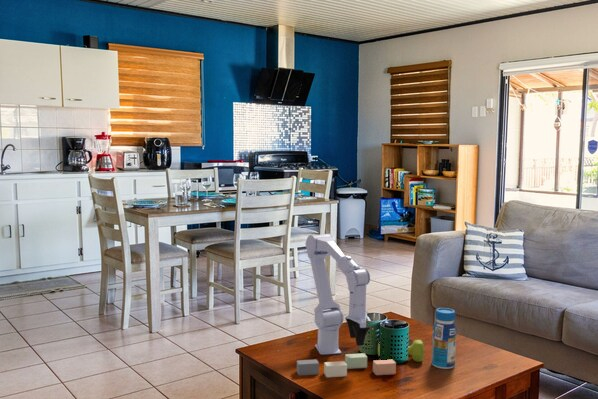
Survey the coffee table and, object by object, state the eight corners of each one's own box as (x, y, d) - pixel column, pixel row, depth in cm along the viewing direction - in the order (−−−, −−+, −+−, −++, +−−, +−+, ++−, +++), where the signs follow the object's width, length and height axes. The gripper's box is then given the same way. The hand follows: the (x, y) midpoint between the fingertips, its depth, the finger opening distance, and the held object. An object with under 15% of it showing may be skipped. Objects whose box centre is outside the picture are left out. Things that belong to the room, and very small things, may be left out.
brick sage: (344, 365, 209) (345, 354, 208) (364, 364, 210) (364, 353, 210) (347, 369, 205) (347, 358, 205) (366, 367, 207) (367, 356, 206)
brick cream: (324, 373, 201) (324, 362, 201) (344, 372, 203) (344, 361, 202) (326, 377, 198) (326, 366, 197) (346, 376, 199) (347, 365, 199)
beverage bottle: (428, 360, 214) (430, 306, 212) (450, 360, 214) (453, 306, 212) (435, 369, 205) (437, 314, 203) (458, 369, 206) (461, 313, 204)
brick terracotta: (372, 371, 204) (373, 360, 203) (392, 370, 205) (392, 359, 205) (376, 375, 200) (376, 364, 200) (395, 374, 202) (396, 363, 201)
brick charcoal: (296, 371, 203) (296, 360, 202) (316, 370, 204) (316, 359, 203) (298, 375, 199) (298, 364, 199) (318, 374, 200) (319, 363, 200)
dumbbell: (377, 362, 212) (378, 342, 211) (377, 354, 220) (378, 335, 219) (424, 364, 210) (425, 345, 209) (422, 356, 218) (423, 337, 217)
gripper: (340, 298, 212) (340, 334, 213) (352, 310, 198) (351, 349, 199) (359, 297, 213) (359, 333, 214) (372, 309, 199) (371, 348, 200)
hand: (356, 341), depth 207 cm, fingers open, 7 cm apart
